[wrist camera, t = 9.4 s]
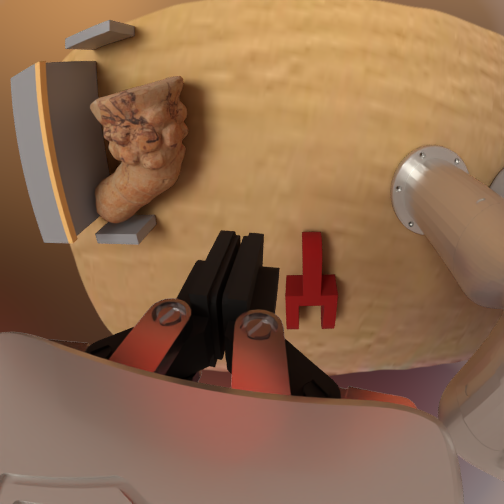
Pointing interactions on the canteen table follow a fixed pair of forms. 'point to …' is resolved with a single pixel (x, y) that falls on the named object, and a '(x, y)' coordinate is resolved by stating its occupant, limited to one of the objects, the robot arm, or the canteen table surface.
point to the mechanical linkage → (311, 285)
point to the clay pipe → (140, 145)
